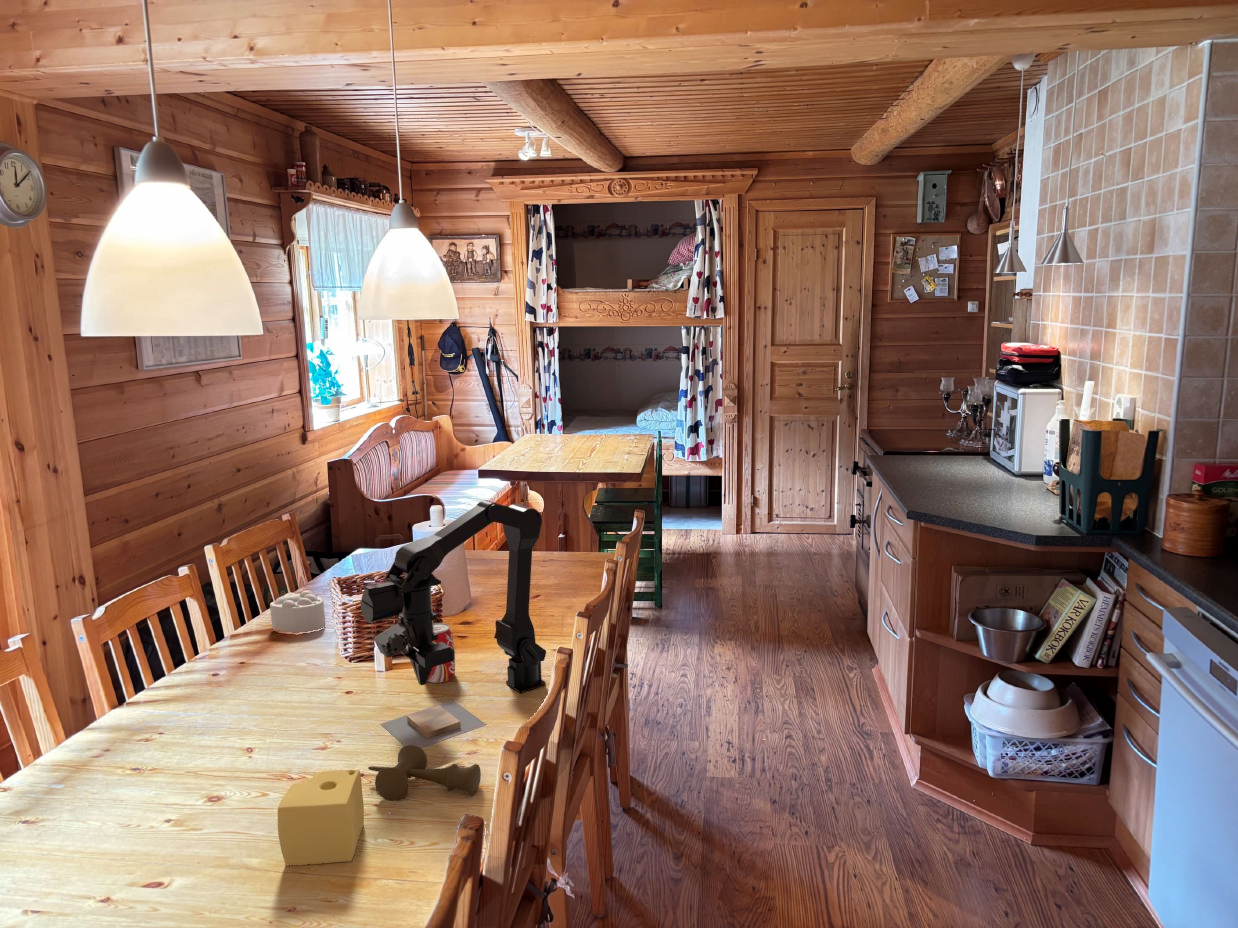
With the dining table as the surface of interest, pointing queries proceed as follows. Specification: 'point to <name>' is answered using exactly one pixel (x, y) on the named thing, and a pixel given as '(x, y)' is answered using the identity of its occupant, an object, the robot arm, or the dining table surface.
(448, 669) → the soda can
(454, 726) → the tile
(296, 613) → the lumpy-topped squat cylinder
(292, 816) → the cheese
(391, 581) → the robot arm
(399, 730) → the mat
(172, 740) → the dining table surface
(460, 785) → the kendama
